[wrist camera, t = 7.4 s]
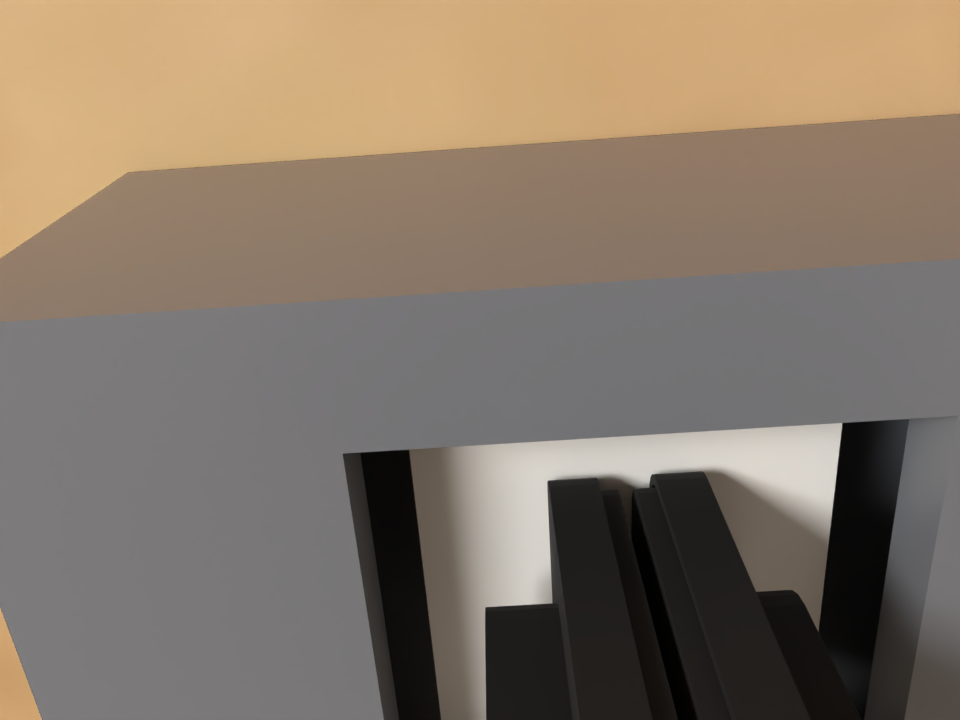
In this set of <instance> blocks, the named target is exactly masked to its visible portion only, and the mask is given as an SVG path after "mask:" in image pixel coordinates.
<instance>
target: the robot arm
mask: <svg viewBox="0 0 960 720" xmlns="http://www.w3.org/2000/svg"><path fill="white" fill-rule="evenodd" d="M547 491H548V515H549V537H550V560H551V582H552V603H550V604H532V605H515V606H497V607H485V662H486V720H861V718H860V716H859V714H858V711H857V709H856V707H855V705H854V703H853V701H852V699H851V697H850V695H849V693H848V691H847V689H846V687H845V685H844V683H843V681H842V679H841V677H840V675H839V673H838V671H837V669H836V667H835V665H834V663H833V661H832V659H831V657H830V655H829V653H828V651H827V649H826V646H825V644H824V642H823V640H822V638H821V636H820V634H819V632H818V630H817V628H816V626H815V624H814V622H813V620H812V618H811V616H810V614H809V612H808V610H807V608H806V606H805V604H804V602H803V601H802V599H801V598H800V596H799V595H798V594H797V593H796V592H795V591H793V590H779V591H761V592H756V591H755V588H754V586H753V584H752V581H751V579H750V577H749V574H748V572H747V570H746V567H745V565H744V563H743V560H742V558H741V556H740V553H739V551H738V548H737V546H736V544H735V541H734V539H733V537H732V534H731V532H730V530H729V527H728V525H727V523H726V520H725V518H724V516H723V513H722V511H721V509H720V506H719V504H718V502H717V499H716V497H715V495H714V492H713V490H712V488H711V485H710V483H709V481H708V478H707V476H706V475H705V473H704V472H702V471H698V472H681V473H665V474H652V475H651V477H650V483H649V488H638V489H633V492H632V539H631V535H630V531H629V527H628V523H627V520H626V516H625V512H624V508H623V504H622V500H621V496H620V493H619V491H618V490H605V491H601V488H600V484H599V481H598V478H582V479H565V480H549V481H548V482H547Z"/></svg>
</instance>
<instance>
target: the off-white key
mask: <svg viewBox="0 0 960 720" xmlns="http://www.w3.org/2000/svg"><path fill="white" fill-rule="evenodd" d="M841 431H842V423H833V424H816V425H800V426H784V427H767V428H751V429H735V430H719V431H702V432H686V433H670V434H653V435H637V436H621V437H605V438H588V439H572V440H556V441H539V442H523V443H507V444H491V445H474V446H458V447H442V448H425V449H409V453H410V461H411V470H412V478H413V487H414V495H415V504H416V512H417V520H418V529H419V537H420V546H421V554H422V563H423V571H424V579H425V588H426V596H427V605H428V613H429V621H430V630H431V638H432V647H433V655H434V664H435V672H436V680H437V689H438V697H439V706H440V714H441V720H486V662H485V607H497V606H515V605H532V604H550V603H552V582H551V560H550V537H549V515H548V491H547V482H548V481H549V480H565V479H582V478H598V481H599V484H600V488H601V491H605V490H618V491H619V493H620V496H621V500H622V504H623V508H624V512H625V516H626V520H627V523H628V527H629V531H630V535H631V539H632V492H633V489H638V488H649V483H650V477H651V475H652V474H665V473H681V472H698V471H702V472H704V473H705V475H706V476H707V478H708V481H709V483H710V485H711V488H712V490H713V492H714V495H715V497H716V499H717V502H718V504H719V506H720V509H721V511H722V513H723V516H724V518H725V520H726V523H727V525H728V527H729V530H730V532H731V534H732V537H733V539H734V541H735V544H736V546H737V548H738V551H739V553H740V556H741V558H742V560H743V563H744V565H745V567H746V570H747V572H748V574H749V577H750V579H751V581H752V584H753V586H754V588H755V591H756V592H761V591H779V590H793V591H795V592H796V593H797V594H798V595H799V596H800V598H801V599H802V601H803V602H804V604H805V606H806V608H807V610H808V612H809V614H810V616H811V618H812V620H813V622H814V624H815V626H816V628H817V630H818V631H819V622H820V613H821V605H822V596H823V587H824V579H825V570H826V561H827V553H828V544H829V535H830V527H831V518H832V509H833V500H834V492H835V483H836V474H837V466H838V457H839V448H840V440H841Z"/></svg>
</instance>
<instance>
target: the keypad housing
mask: <svg viewBox="0 0 960 720" xmlns="http://www.w3.org/2000/svg"><path fill="white" fill-rule="evenodd" d="M833 423H842V431H841V440H840V448H839V457H838V466H837V474H836V483H835V492H834V500H833V509H832V518H831V527H830V535H829V544H828V553H827V561H826V570H825V579H824V587H823V596H822V605H821V613H820V622H819V631H818V632H819V634H820V636H821V638H822V640H823V642H824V644H825V646H826V649H827V651H828V653H829V655H830V657H831V659H832V661H833V663H834V665H835V667H836V669H837V671H838V673H839V675H840V677H841V679H842V681H843V683H844V685H845V687H846V689H847V691H848V693H849V695H850V697H851V699H852V701H853V703H854V705H855V707H856V709H857V711H858V714H859V716H860V718H861V720H960V114H951V115H937V116H923V117H908V118H894V119H880V120H866V121H851V122H837V123H823V124H809V125H795V126H780V127H766V128H752V129H738V130H723V131H709V132H695V133H681V134H666V135H652V136H638V137H624V138H609V139H595V140H581V141H567V142H552V143H538V144H524V145H510V146H495V147H481V148H467V149H453V150H438V151H424V152H410V153H396V154H381V155H367V156H353V157H339V158H325V159H310V160H296V161H282V162H268V163H253V164H239V165H225V166H211V167H196V168H182V169H168V170H154V171H139V172H128V173H126V174H125V175H123V176H122V177H120V178H119V179H117V180H116V181H115V182H113V183H112V184H110V185H109V186H107V187H106V188H104V189H103V190H101V191H100V192H98V193H97V194H95V195H94V196H92V197H91V198H89V199H88V200H86V201H85V202H83V203H82V204H81V205H79V206H78V207H76V208H75V209H73V210H72V211H70V212H69V213H67V214H66V215H64V216H63V217H61V218H60V219H58V220H57V221H55V222H54V223H52V224H51V225H49V226H48V227H47V228H45V229H44V230H42V231H41V232H39V233H38V234H36V235H35V236H33V237H32V238H30V239H29V240H27V241H26V242H24V243H23V244H21V245H20V246H18V247H17V248H15V249H14V250H13V251H11V252H10V253H8V254H7V255H5V256H4V257H2V258H1V259H0V608H1V611H2V613H3V616H4V619H5V621H6V624H7V627H8V629H9V632H10V635H11V637H12V640H13V643H14V645H15V648H16V651H17V654H18V656H19V659H20V662H21V664H22V667H23V670H24V672H25V675H26V678H27V680H28V683H29V686H30V688H31V691H32V694H33V696H34V699H35V702H36V704H37V707H38V710H39V713H40V715H41V718H42V720H441V714H440V706H439V697H438V689H437V680H436V672H435V664H434V655H433V647H432V638H431V630H430V621H429V613H428V605H427V596H426V588H425V579H424V571H423V563H422V554H421V546H420V537H419V529H418V520H417V512H416V504H415V495H414V487H413V478H412V470H411V461H410V453H409V449H425V448H442V447H458V446H474V445H491V444H507V443H523V442H539V441H556V440H572V439H588V438H605V437H621V436H637V435H653V434H670V433H686V432H702V431H719V430H735V429H751V428H767V427H784V426H800V425H816V424H833Z"/></svg>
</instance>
